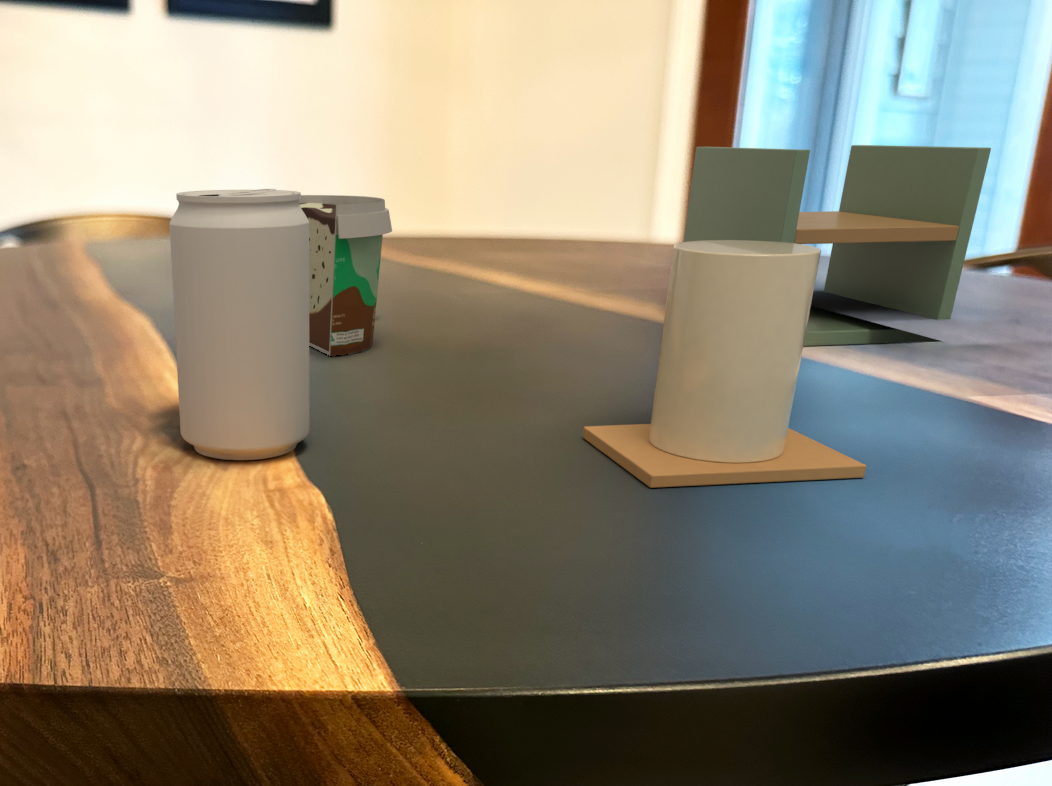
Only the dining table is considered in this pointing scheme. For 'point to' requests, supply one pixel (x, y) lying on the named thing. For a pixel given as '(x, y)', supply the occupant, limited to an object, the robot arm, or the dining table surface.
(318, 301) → the food container
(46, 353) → the dining table surface
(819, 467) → the mat
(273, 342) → the beverage can
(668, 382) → the cream cylinder
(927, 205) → the rack
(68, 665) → the dining table surface
